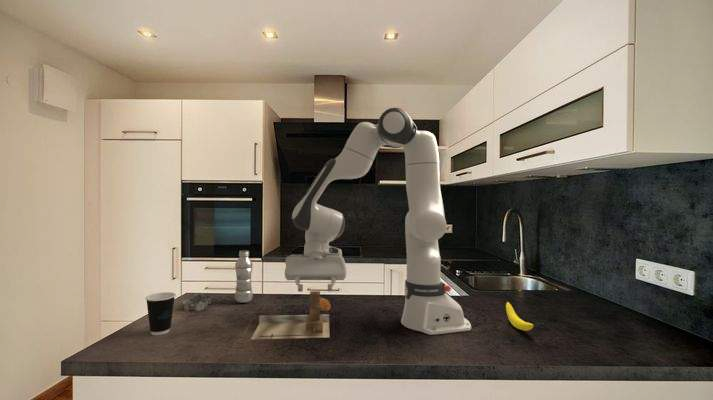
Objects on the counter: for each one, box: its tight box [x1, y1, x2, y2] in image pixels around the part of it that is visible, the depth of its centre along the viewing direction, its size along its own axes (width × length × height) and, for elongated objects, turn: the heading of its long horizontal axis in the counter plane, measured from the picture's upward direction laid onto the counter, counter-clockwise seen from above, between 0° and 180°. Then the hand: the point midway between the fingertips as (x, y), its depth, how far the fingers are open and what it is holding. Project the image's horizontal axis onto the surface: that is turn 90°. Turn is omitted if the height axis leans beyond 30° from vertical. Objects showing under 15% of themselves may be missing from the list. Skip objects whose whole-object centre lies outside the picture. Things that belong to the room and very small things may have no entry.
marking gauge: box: [306, 290, 324, 334], centre depth 101 cm, size 5×8×11 cm, turn 5°
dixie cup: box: [145, 291, 176, 336], centre depth 101 cm, size 8×8×11 cm
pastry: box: [320, 297, 332, 312], centre depth 123 cm, size 9×7×4 cm
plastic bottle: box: [234, 249, 254, 304], centre depth 131 cm, size 6×7×20 cm
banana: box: [505, 300, 534, 332], centre depth 108 cm, size 3×19×6 cm, turn 178°
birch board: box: [250, 313, 330, 340], centre depth 101 cm, size 22×13×4 cm, turn 95°
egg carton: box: [182, 292, 213, 312], centre depth 125 cm, size 11×8×4 cm
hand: (315, 290), depth 107 cm, fingers open, 8 cm apart
